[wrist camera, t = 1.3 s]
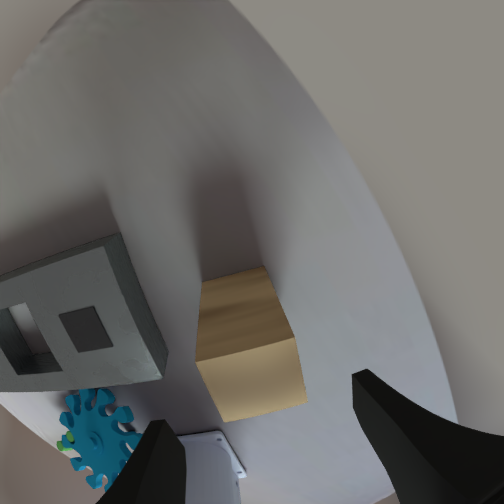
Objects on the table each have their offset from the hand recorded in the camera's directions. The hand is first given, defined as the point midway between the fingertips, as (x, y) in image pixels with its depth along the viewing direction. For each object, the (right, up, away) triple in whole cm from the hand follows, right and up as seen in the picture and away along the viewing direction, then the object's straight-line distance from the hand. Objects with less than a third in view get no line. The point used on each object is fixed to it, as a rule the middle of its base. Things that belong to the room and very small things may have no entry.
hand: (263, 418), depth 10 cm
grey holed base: (-17, +1, +8) cm, 19 cm away
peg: (-1, +3, +9) cm, 10 cm away
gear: (-14, -8, +12) cm, 20 cm away
